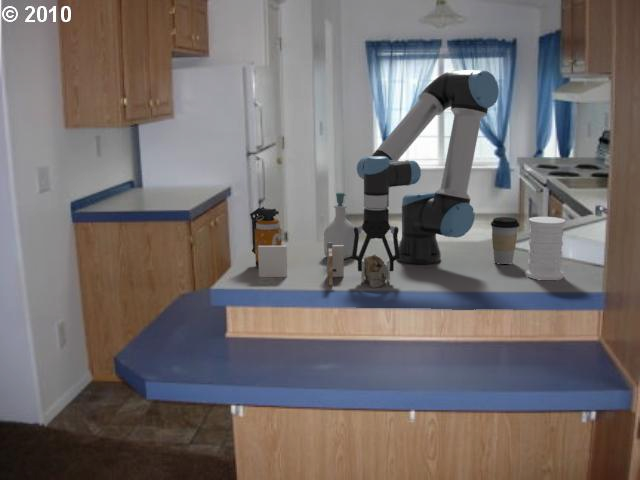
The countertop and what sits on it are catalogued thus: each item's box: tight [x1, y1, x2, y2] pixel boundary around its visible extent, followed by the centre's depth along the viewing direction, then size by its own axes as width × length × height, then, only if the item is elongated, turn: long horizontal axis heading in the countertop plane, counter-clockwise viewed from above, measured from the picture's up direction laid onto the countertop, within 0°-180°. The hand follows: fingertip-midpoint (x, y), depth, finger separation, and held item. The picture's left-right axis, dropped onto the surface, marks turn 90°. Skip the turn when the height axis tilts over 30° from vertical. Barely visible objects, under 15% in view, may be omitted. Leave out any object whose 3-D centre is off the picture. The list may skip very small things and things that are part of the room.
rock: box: [363, 254, 388, 288], centre depth 226 cm, size 12×7×10 cm, turn 4°
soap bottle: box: [323, 192, 355, 260], centre depth 258 cm, size 10×10×23 cm
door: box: [328, 248, 336, 286], centre depth 226 cm, size 11×2×9 cm, turn 0°
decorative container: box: [524, 216, 566, 281], centre depth 229 cm, size 12×12×18 cm
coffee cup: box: [490, 216, 521, 265], centre depth 247 cm, size 9×9×15 cm
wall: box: [258, 242, 345, 278], centre depth 233 cm, size 27×2×11 cm, turn 88°
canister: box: [249, 206, 283, 268], centre depth 247 cm, size 9×11×20 cm
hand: (375, 281), depth 227 cm, fingers closed on rock, 7 cm apart
